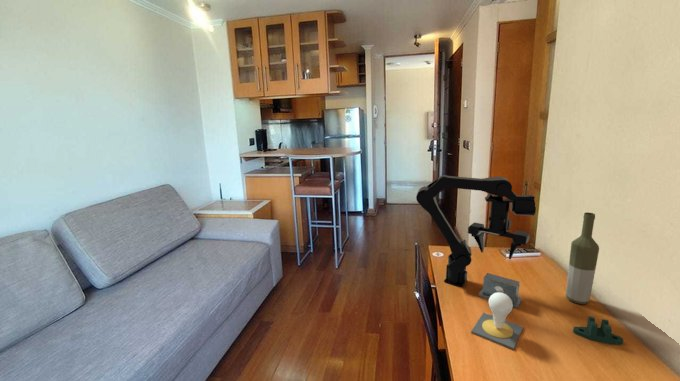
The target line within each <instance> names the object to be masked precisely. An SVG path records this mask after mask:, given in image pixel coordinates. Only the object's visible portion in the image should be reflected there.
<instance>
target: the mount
mask: <svg viewBox="0 0 680 381" xmlns="http://www.w3.org/2000/svg"><path fill="white" fill-rule="evenodd" d="M600 321H601V322H600V326H598V323H597V322H596V319H595V317H594V316H587V322H586V326H573V328H572V329H573V330H572V333H574V335H577V336H579V337H582V338H583V339H586V340H589V341H593V342H597V343H602V344H606V345H615V346H617V345H618V346H622V345H624V338H623V337H621V335H617V334H614V333H612V330H613V329H612V326H611V325H609V324H610V323H609V320H608V319H603V318H602V319H601V320H600Z"/></svg>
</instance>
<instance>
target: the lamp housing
mask: <svg viewBox="0 0 680 381" xmlns="http://www.w3.org/2000/svg"><path fill="white" fill-rule="evenodd" d="M519 290H520V281H519V280H515V279H512V278H511V279H510V278H507V277H505V276H500V275H496V274H493V273H489V272H487V273H486V274H485V276H484V277H483V284H482V288H481V290H480V291H479V293H478V297H480V298H483V299H486V300H489V298H490V296H491V295H492V294H494V293H497V292H501V293H504V294H506V295H507V296H509V297H510V299H511V300H512V304H513V308H514V309H518V308H519V306H520V305H521V303H522V300H523V298H522V297H521V296H519V292H520V291H519Z"/></svg>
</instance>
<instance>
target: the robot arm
mask: <svg viewBox="0 0 680 381" xmlns="http://www.w3.org/2000/svg"><path fill="white" fill-rule="evenodd" d="M446 188H449V189H458V190H460V189H461V190H469V191H480V192H484V193H486V194H488V195H486V196H485V197H484V201H485V202H489V203H490V207H489V217H488V227H485V224H484V223H480V222H479V223H478V222H472V224H470V225H469V226H468V227H467V233H468V234H469V235H471V237H473V239H475V242H476V244H477V245H478V249H479V250H480V253H481V254H483V253H484V250H485V249H484V248H485V242H484V241H485V240H484V238H485V234H488V235H492V236H493V235H494V236H498V237H503V238H507V239H512V241H511V243H510V248H509V253H508V259H509V260H511V259H512V257H513V255H514V253H515V251H516V249H517V247H522V246H523V245H525V246H526V245H527V244H528V243H529V241H530V238H531V237H530V236H531V235H530V233H529V232H528V231H524V230H519V229H516V231H515V232H511V231H509V230H510V229H511V226H512V222H513V221H512V219H510V217H509V216H510V215H509V212H512V213H513V215H515V216H529V217H533V216H535V214H536V210H537V207H536V201H535V198H536V197H535V196H534V195H533V194H527V195H524V194H523V195H522V194H521V195H519V194H516V193H515V192H514V191H513V185H512V183H511V182H510V181H509V180H508V179H507V178H506V177H503V176H491V177H490V176H489V177H483V178H476V177H468V176H467V177H466V176H456V175H455V176H453V175H447V174H442V175H440V176H439V177H438V178H436V179H435V180H433V181H432V182H430V183H429V184H428V185H427V186H422V187H420V188H419V189H418V191H417V193H416V197H415V198H416V201H417V203H418V204H419V205H420V206H421V207H422V209H424V210H425V211H426V212H427V213H428V214H429V215H430V217H431V218H432V220H433V221H434V223H435V225H436V226H437V228H438V230H439V231H440V233H441V234H442V236H443V238H444V239H445V241H446V242H447V244H448V247H449V250H450V252H451V253H450V254H449V255H448V256H447V260H448V261H447V264H446V271H445V273H446V274H445V279H444V280H443V282H444V283H447V284H450V285H453V286H457V287H459V288H463V287H462V286H464V284H465V283H467V281H468V271H467V267H468V266H470V264H471V263H472V255H473V254H472V249H471V247H470V245H468V243H467V241H466V239H463V240H461V239H459V237H458V236H457V235H456V233H455V231H454V230H453V228H452V226H451V225H450V223H449V222H448V220H447V218H446V217H445V215H444V213H443V212H442V210H441V209H440V207H439V204H438V201H437V198H436V197H437V196H438V195H439V194H440V193H441V192H442V191H443V190H444V189H446ZM504 197H505V198H504Z"/></svg>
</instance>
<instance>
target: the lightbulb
mask: <svg viewBox="0 0 680 381" xmlns="http://www.w3.org/2000/svg"><path fill="white" fill-rule="evenodd" d="M488 305H489V308H490V310H491V313H492V316H493V319H494V326H495V327H496V328H498V329H501V328H503V326H504V322H505V320H506V318H507V316H508V315H509V314H510V312H512V310H513V308H514V307H513V304H512V300H511V299H510V297H509V296H507V295H506V294H504V293H501V292H497V293H494V294H492V295H491V296H490V298H489V299H488Z"/></svg>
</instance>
